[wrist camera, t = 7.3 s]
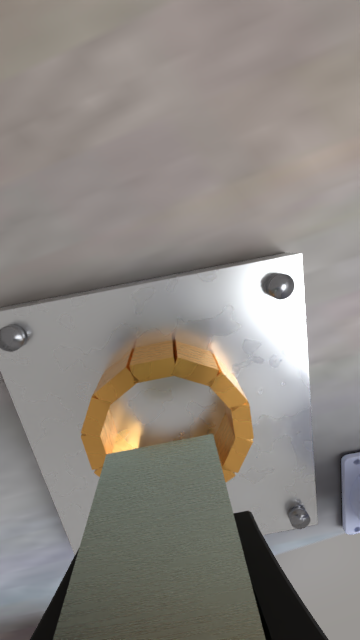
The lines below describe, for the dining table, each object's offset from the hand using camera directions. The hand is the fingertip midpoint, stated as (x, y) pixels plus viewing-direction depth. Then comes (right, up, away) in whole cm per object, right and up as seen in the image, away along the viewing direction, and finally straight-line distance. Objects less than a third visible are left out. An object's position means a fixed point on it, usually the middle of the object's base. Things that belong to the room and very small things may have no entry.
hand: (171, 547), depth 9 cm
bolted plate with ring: (0, +1, +10) cm, 10 cm away
